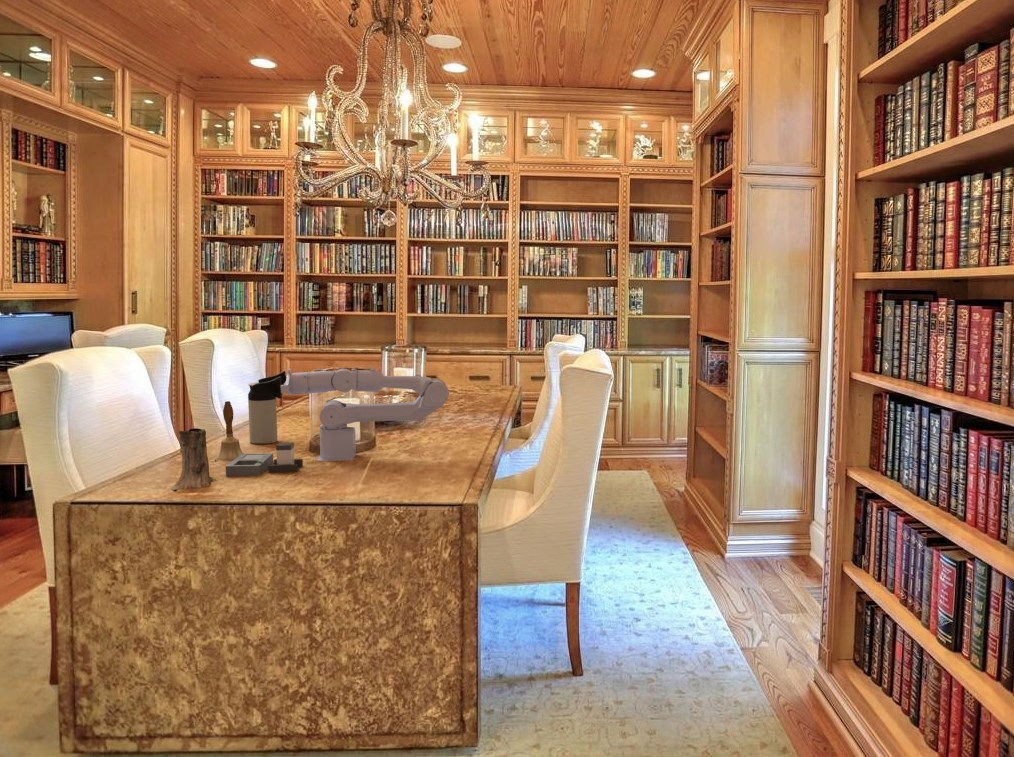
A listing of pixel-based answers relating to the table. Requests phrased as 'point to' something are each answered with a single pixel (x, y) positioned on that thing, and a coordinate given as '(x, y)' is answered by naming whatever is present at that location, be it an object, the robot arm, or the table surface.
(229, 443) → the hand bell
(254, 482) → the table surface
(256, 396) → the travel mug
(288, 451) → the plug
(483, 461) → the table surface
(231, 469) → the port panel
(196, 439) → the tree stump
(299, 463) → the dark grey bracket
